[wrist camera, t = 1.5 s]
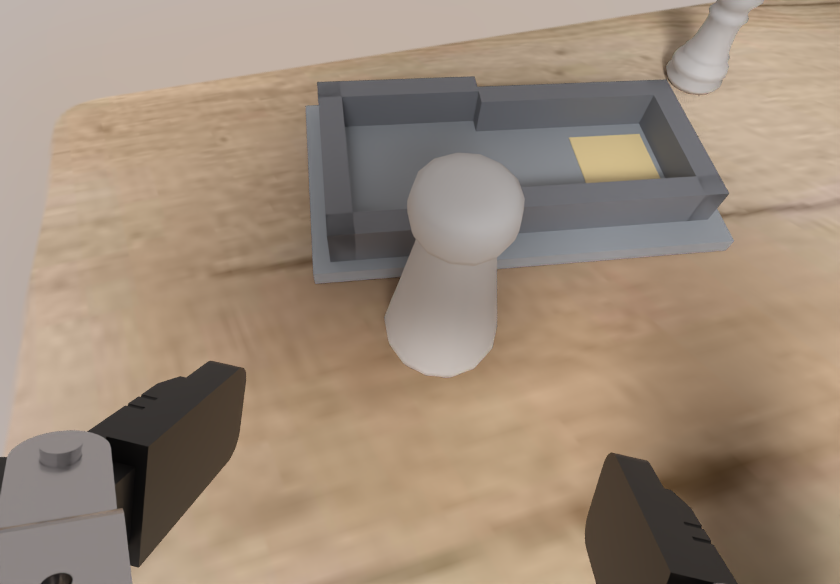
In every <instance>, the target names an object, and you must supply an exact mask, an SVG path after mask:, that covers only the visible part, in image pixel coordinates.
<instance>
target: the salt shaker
mask: <svg viewBox="0 0 840 584" xmlns="http://www.w3.org/2000/svg"><path fill="white" fill-rule="evenodd" d="M524 202H525V198H524V195H523V192H522V189H521V186H520V183H519V180H518V179H517V178H516V177H515V176H514V175H513V174H512V173H511V172H510V171H509V170H508V169H507V168H506V167H505V166H504V165H503V164H501V163H499V162H497V161H494V160H492V159H490V158H488V157H485V156H483V155H481V154H470V153H454V154H450V155H446V156H442V157H438V158H434V159H433V160H432V161H431V162H429V163H428V164H427V165H426V166H424V167H423V168H422V169H421V170H420V171H418V173H417V176H416V178H415V181H414V183H413V186H412V188H411V191H410V194H409V197H408V200H407V213H408V217H409V222H410V226H411V231H412V234H413V236H414V237H415V239H416V240H415V243H414V245H413V248H412V250H411V253H410V255H409V258H408V260H407V263H406V265H405V268H404V270H403V272H402V275H401V277H400V280H399V282H398V285H397V287H396V290H395V292H394V294H393V296H392V299H391V301H390V304H389V307H388V309H387V312H386V315H385V317H384V319H385V325H386V330H387V336H388V341H389V344H390V346H391V347H392V349H393V350H394V351H395V353H396V354H397V355H398V357H399V358H400V360H401V361H402V362H403V364H405V365H406V366H408V367H410V368H411V369H414V370H416V371H418V372H420V373H422V374H424V375H426V376H439V377H442V378H449V377H453V376H456V375H458V374H461V373H464V372H466V371H469V370H472V369H474V368H475V367H476V366H477V365H478V363H479V362H480V361H481V360H482V359H483V358H484V357H485V356H486V355H487V354H488V352H489V351H490V350H491V349H492V347H493V343H494V338H495V334H496V329H497V257H498V256H499V255H500V254H501V253H502V252H503V251H504V250H506V249H507V248H508V247H509V246H510V245H511V244H512V243H513V242H514V241H515V239H516V237H517V235H518V232H519V230H520V226H521V221H522V216H523V212H524Z"/></svg>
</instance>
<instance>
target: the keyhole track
mask: <svg viewBox="0 0 840 584" xmlns="http://www.w3.org/2000/svg"><path fill="white" fill-rule="evenodd" d="M317 88H318V103H319V105H313V106H306V125H307V147H308V169H309V191H310V213H311V235H312V256H313V275H314V281H315V284H319V283H331V282H343V281H356V280H368V279H380V278H392V277H401V275H402V272H403V270H404V268H405V265H406V263H407V260H408V258H409V255H410V253H411V250H412V248H413V245H414V243H415V240H416V239H415V237H414V236H413V234H412V231H411V226H410V222H409V217H408V213H407V200H408V197H409V194H410V191H411V188H412V186H413V183H414V181H415V178H416V176H417V173H418V171H420V170H421V169H422V168H423V167H424V166H426V165H427V164H428V163H429V162H431V161H432V160H433V159H434V158H438V157H442V156H446V155H450V154H454V153H470V154H481V155H483V156H485V157H488V158H490V159H492V160H494V161H497V162H499V163H501V164H503V165H504V166H505V167H506V168H507V169H508V170H509V171H510V172H511V173H512V174H513V175H514V176H515V177H516V178H517V179H518V180H519V183H520V186H521V189H522V192H523V195H524V198H525V202H524V212H523V216H522V221H521V226H520V230H519V232H518V235H517V237H516V239H515V241H514V242H513V243H512V244H511V245H510V246H509V247H508V248H507V249H506V250H504V251H503V252H502V253H501V254H500V255H499V256H498V257H497V269H503V268H515V267H527V266H540V265H552V264H564V263H576V262H589V261H601V260H613V259H626V258H638V257H650V256H662V255H675V254H687V253H699V252H711V251H724V250H726V249H727V248H728V247H729V246H730V245H731V244H732V243H733V242H734V240H733V238H732V236H731V234H730V232H729V230H728V229H727V227H726V225H725V223H724V221H723V219H722V217H721V215H720V213H719V211H718V210H717V208H718V207H719V205H720V204H721V203H722V202H723V200H724V199H725V198H726V197H727V196H728V194H729V192H728V190H727V188H726V187H725V185H724V183H723V181H722V179H721V178H720V176H719V174H718V172H717V170H716V169H715V167H714V165H713V163H712V161H711V159H710V158H709V156H708V154H707V152H706V150H705V149H704V147H703V145H702V143H701V141H700V140H699V138H698V136H697V134H696V132H695V130H694V129H693V127H692V125H691V123H690V121H689V120H688V118H687V116H686V114H685V112H684V110H683V109H682V107H681V105H680V103H679V101H678V100H677V98H676V96H675V94H674V92H673V91H672V89H671V87H670V85H669V83H668V81H667V80H642V81H616V82H590V83H564V84H538V85H512V86H486V87H477V84H476V80H475V77H446V78H418V79H390V80H363V81H335V82H317Z"/></svg>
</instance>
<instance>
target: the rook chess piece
mask: <svg viewBox="0 0 840 584" xmlns="http://www.w3.org/2000/svg"><path fill="white" fill-rule="evenodd" d="M763 1H764V0H717V1H716V3H714V4H712V5H710V7H709V15H708V17H707V19H706V20H705V22H704V23H703V25H702V26H701V27H700V29H699V30H698V32H697V33H696V34H695V35H694V37H693V38H692V39H690V40H688V41H687V42H686V43H685V45H683V46H681V47H679V48H678V49H677V50H676V51H675V52H674V54H673V56H672V60H670V61H669V62H668V64H667V66H666V69H667V75H668V79H669V80H670V82H671V83H672V84H673V85H674V86H675V87H677V88H678V89H679V90H681V91H684V92H686V93H689V94H695V95H702V94H708V93H710V92H713V91H714V90H716V89H718V88H719V87H720V85H721V83H722V79H723V78H725V76H726V74H727V71H728V68H729V66H728V60H729V58H730V57H729V51H730V47H731V45H732V43H733V41H734V38H735V36H736V34H737V32H738V31H739V29H740V27H741V26H742V25H743V24H745V23H747V21H748V19H749V18H748V13H749V12H750V11H751V9H753V8H755V7H757V6H759V5H761V4H762V3H763Z"/></svg>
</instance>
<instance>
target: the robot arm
mask: <svg viewBox="0 0 840 584" xmlns="http://www.w3.org/2000/svg"><path fill="white" fill-rule="evenodd" d="M245 384H246V371H245V369H244V368H241V367H237V366H232V365H228V364H223V363H219V362H215V361H209V362H207V363H206V364H204V365H203V366H202V367H200V368H199V369H197V370H196V371H195V372H193V373H192V374H191V375H189V376H188V377H187V378H185V377H181V376H180V377H177V378H174V379H170V380H167V381H164V382H161V383H158V384H156V385H155V386H153V387H152V388H150V389H149V390H147V391H146V392H145V393H143V394H142V395H141V397H137V398H136V399H134V400H133V401H131V402H130V403H128V406H124V407H123V408H121V409H120V410H118V411H117V412H115V413H114V414H112V415H111V416H109V417H108V418H106V419H105V420H104V421H102V422H101V423H99V424H98V425H96V426H95V427H93V428H92V429H90V430H89V431H87V432H86V431H71V430H70V431H57V432H51V433H46V434H42V435H39V436H35V437H33V438H30V439H28V440H26V441H24V442H22V443H20V444H19V445H17V446H16V447H15V448H14V449H12V450H11V452H10V453H9V454H8V457H0V584H132V577H131V568H130V565H131V566H135V567H140V565H141V564H142V563H143V562H144V561H145V560H146V558H147V557H148V556H149V555H150V554H151V552H152V551H153V550H154V549H155V548H156V546H157V545H158V544H159V543H160V542H161V541H162V539H163V538H164V537H165V536H166V535H167V533H168V532H169V531H170V530H171V529H172V527H173V526H174V525H175V524H176V523H177V522H178V520H179V519H180V518H181V517H182V516H183V514H184V513H185V512H186V511H187V510H188V508H189V507H190V506H191V505H192V504H193V503H194V501H195V500H196V499H197V498H198V497H199V495H200V494H201V493H202V492H203V491H204V489H205V488H206V487H207V486H208V485H209V484H210V482H211V481H212V480H213V479H214V478H215V476H216V475H217V474H218V473H219V472H220V470H221V469H222V468H223V467H224V466H225V465H226V463H227V462H228V461H229V459H230V458H231V456H232V454H233V452H234V450H235V447H236V444H237V441H238V437H239V432H240V424H241V416H242V408H243V400H244V392H245ZM585 544H586V549H587V552H588V556H589V559H590V563H591V567H592V570H593V574H594V577H595V581H596V584H737V582H736V580H735V579H734V577H733V576H732V574H731V572H730V571H729V569H728V568H727V566H726V564H725V563H724V561H723V559H722V558H721V556H720V555H719V553H718V551H717V550H716V548H715V547H714V545H712V544H711V540H710V538H709V537H708V535H707V534H706V532H705V530H704V529H701V524H700V522H699V521H698V519H697V517H696V516H695V514H694V513H693V511H692V509H691V508H690V507H689V506H688V505H687V504H686V503H685V502H684V501H682V500H681V499H680V498H679V497H678V496H677V495H676V494H675V493H674V492H672V491H671V490H668V489H664V487H663V486H662V484H661V482H660V481H659V479H658V477H657V475H656V474H655V472H654V470H653V468H652V467H651V465H650V463H649V462H648V461H646V460H642V459H637V458H633V457H629V456H624V455H620V454H615V453H610V454H609V455H608V456H607V457H606V459H605V462H604V464H603V468H602V471H601V474H600V477H599V480H598V484H597V487H596V490H595V493H594V496H593V500H592V503H591V506H590V509H589V512H588V516H587V520H586V527H585Z"/></svg>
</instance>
